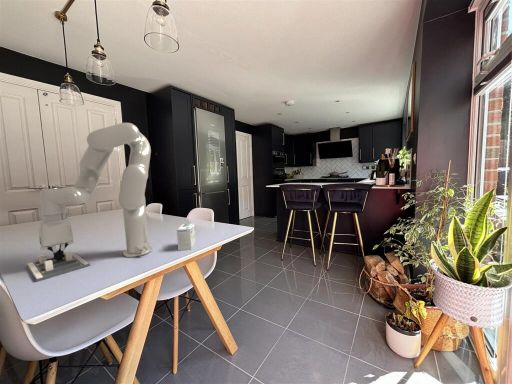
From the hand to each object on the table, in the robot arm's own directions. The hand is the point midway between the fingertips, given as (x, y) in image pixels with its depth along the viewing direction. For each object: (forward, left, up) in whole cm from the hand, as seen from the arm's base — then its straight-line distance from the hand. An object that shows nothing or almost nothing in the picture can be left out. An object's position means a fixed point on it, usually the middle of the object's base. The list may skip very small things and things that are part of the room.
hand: (59, 260), depth 93 cm
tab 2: (-6, +4, -1) cm, 8 cm away
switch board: (0, +1, -2) cm, 3 cm away
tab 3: (0, -3, -1) cm, 3 cm away
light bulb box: (-28, -44, -3) cm, 53 cm away
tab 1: (+6, +4, -1) cm, 7 cm away
